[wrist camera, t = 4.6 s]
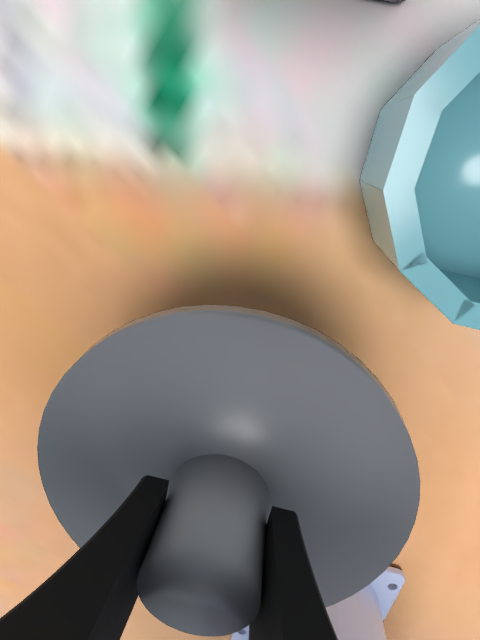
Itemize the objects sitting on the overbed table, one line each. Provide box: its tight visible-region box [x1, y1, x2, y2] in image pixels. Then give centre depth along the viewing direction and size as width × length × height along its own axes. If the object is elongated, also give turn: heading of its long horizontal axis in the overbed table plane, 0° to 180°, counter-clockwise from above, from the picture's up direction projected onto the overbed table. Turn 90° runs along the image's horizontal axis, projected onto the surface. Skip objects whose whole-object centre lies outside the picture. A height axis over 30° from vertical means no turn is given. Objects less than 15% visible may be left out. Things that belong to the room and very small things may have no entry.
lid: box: [37, 305, 420, 636], centre depth 11 cm, size 11×11×4 cm
